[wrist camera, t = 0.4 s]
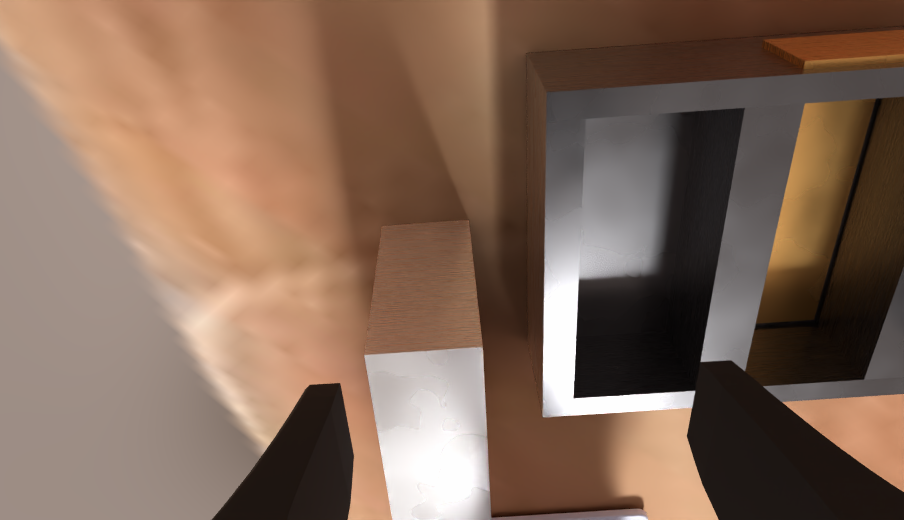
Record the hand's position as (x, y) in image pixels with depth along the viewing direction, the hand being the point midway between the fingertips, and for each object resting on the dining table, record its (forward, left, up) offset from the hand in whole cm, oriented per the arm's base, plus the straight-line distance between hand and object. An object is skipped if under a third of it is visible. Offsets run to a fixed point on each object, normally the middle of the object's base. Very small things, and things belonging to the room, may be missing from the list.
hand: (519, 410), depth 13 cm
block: (-5, +2, -10) cm, 11 cm away
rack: (-1, -10, -10) cm, 14 cm away
